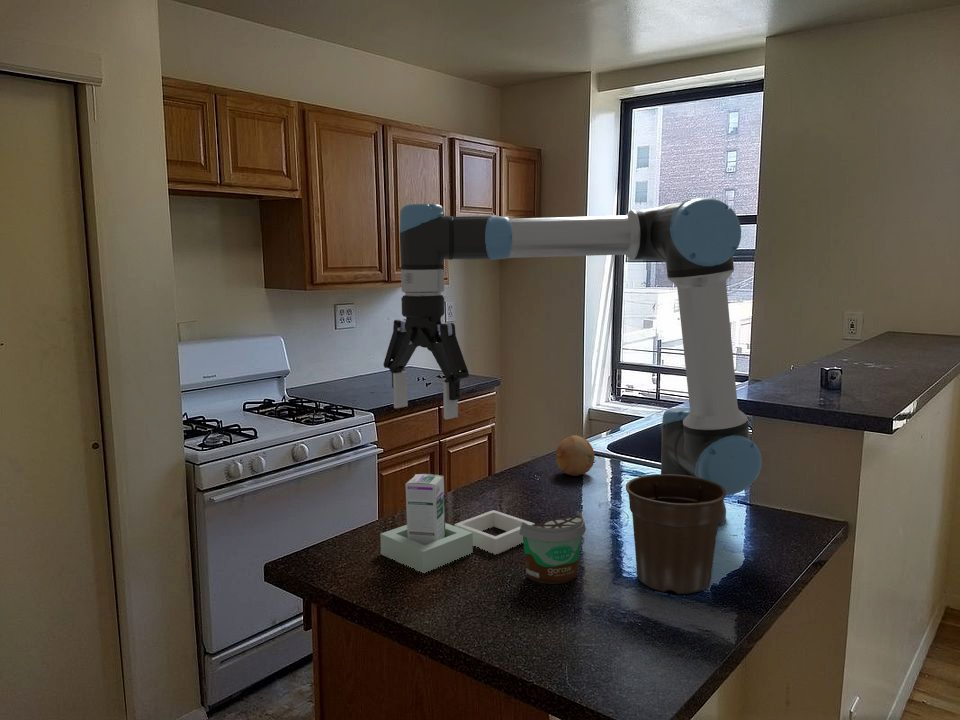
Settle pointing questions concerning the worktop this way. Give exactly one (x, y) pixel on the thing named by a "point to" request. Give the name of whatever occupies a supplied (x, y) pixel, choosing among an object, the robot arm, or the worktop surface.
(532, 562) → the food container
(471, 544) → the socket
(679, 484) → the plant pot
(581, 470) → the onion
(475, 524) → the frame
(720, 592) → the worktop surface
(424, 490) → the syrup box
